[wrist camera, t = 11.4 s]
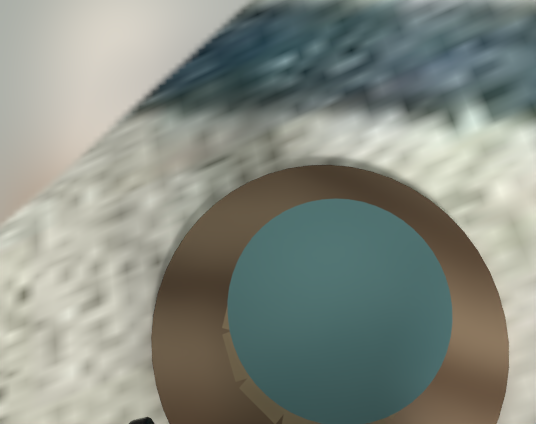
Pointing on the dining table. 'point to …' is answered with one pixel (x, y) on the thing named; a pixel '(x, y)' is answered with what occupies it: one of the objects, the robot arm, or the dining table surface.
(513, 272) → the dining table surface
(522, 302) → the dining table surface
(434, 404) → the walnut stand
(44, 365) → the dining table surface
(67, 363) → the dining table surface
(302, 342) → the teal peg
